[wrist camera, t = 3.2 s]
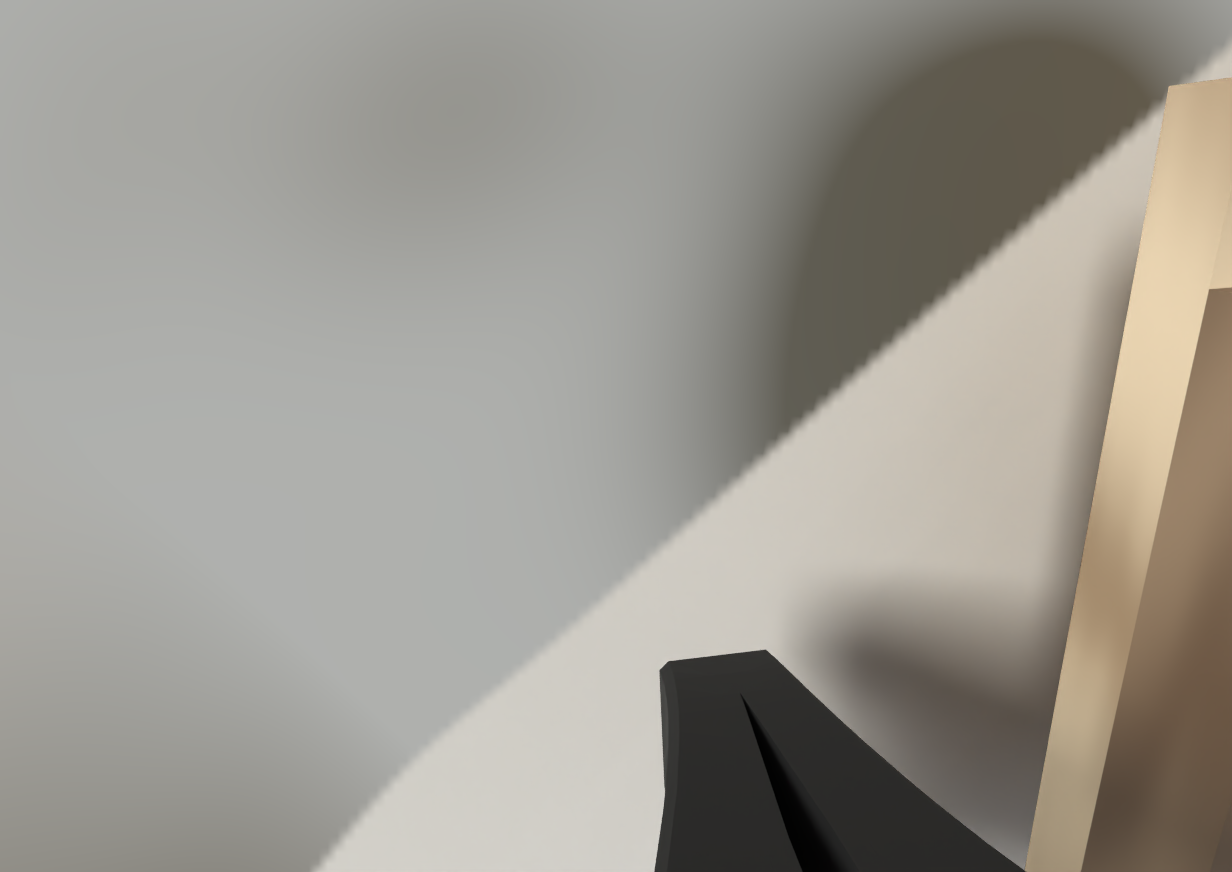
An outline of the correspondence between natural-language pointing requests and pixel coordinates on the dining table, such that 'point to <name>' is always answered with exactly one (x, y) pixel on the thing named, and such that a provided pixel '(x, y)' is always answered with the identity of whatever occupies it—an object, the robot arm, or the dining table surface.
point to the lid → (1158, 547)
